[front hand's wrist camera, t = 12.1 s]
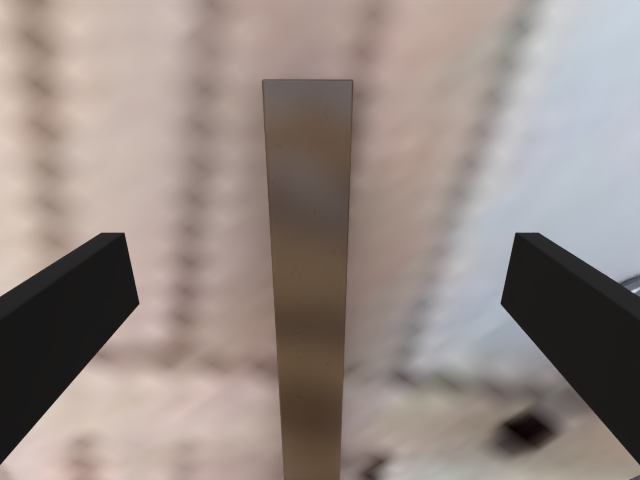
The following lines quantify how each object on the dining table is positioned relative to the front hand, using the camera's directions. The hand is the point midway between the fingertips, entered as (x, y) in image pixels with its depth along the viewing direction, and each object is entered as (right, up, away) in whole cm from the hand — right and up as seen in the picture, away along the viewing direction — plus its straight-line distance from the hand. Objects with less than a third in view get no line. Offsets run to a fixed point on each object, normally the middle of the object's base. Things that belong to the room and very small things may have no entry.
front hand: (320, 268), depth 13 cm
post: (-1, -20, +28) cm, 34 cm away
